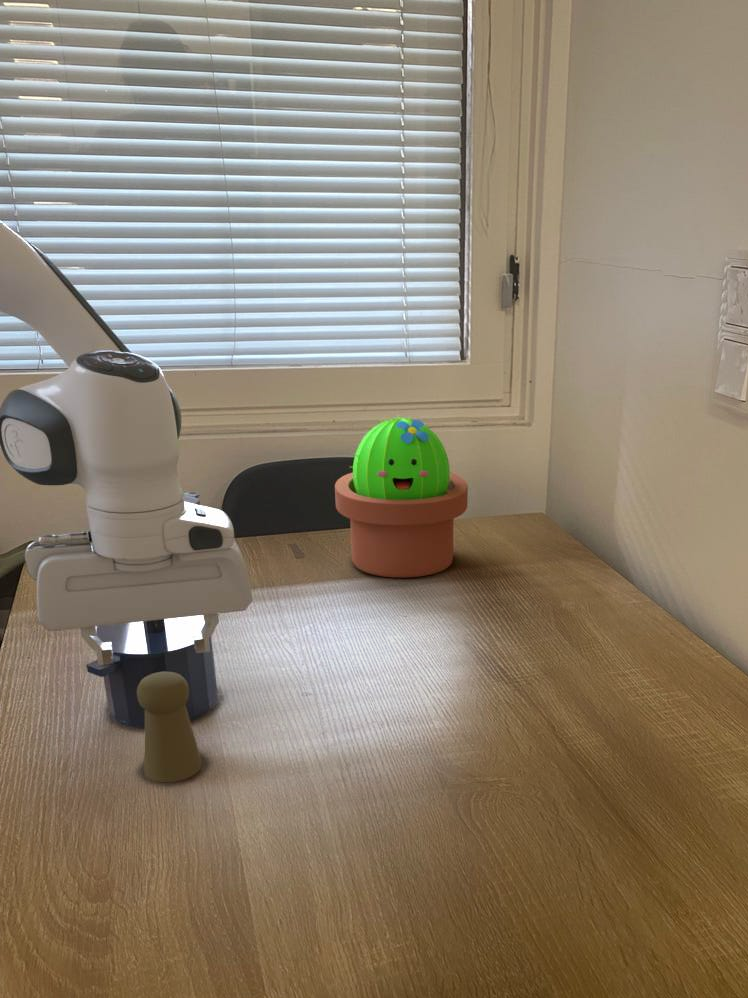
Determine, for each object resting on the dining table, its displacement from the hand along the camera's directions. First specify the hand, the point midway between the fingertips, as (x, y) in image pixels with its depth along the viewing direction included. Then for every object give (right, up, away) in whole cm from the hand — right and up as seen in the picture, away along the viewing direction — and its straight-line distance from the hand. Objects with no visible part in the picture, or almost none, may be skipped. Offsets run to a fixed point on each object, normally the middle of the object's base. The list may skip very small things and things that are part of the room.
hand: (154, 656), depth 97 cm
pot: (-5, -6, +19) cm, 20 cm away
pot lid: (-5, +3, +15) cm, 16 cm away
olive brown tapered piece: (0, -12, +6) cm, 14 cm away
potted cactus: (+20, +15, +65) cm, 70 cm away
